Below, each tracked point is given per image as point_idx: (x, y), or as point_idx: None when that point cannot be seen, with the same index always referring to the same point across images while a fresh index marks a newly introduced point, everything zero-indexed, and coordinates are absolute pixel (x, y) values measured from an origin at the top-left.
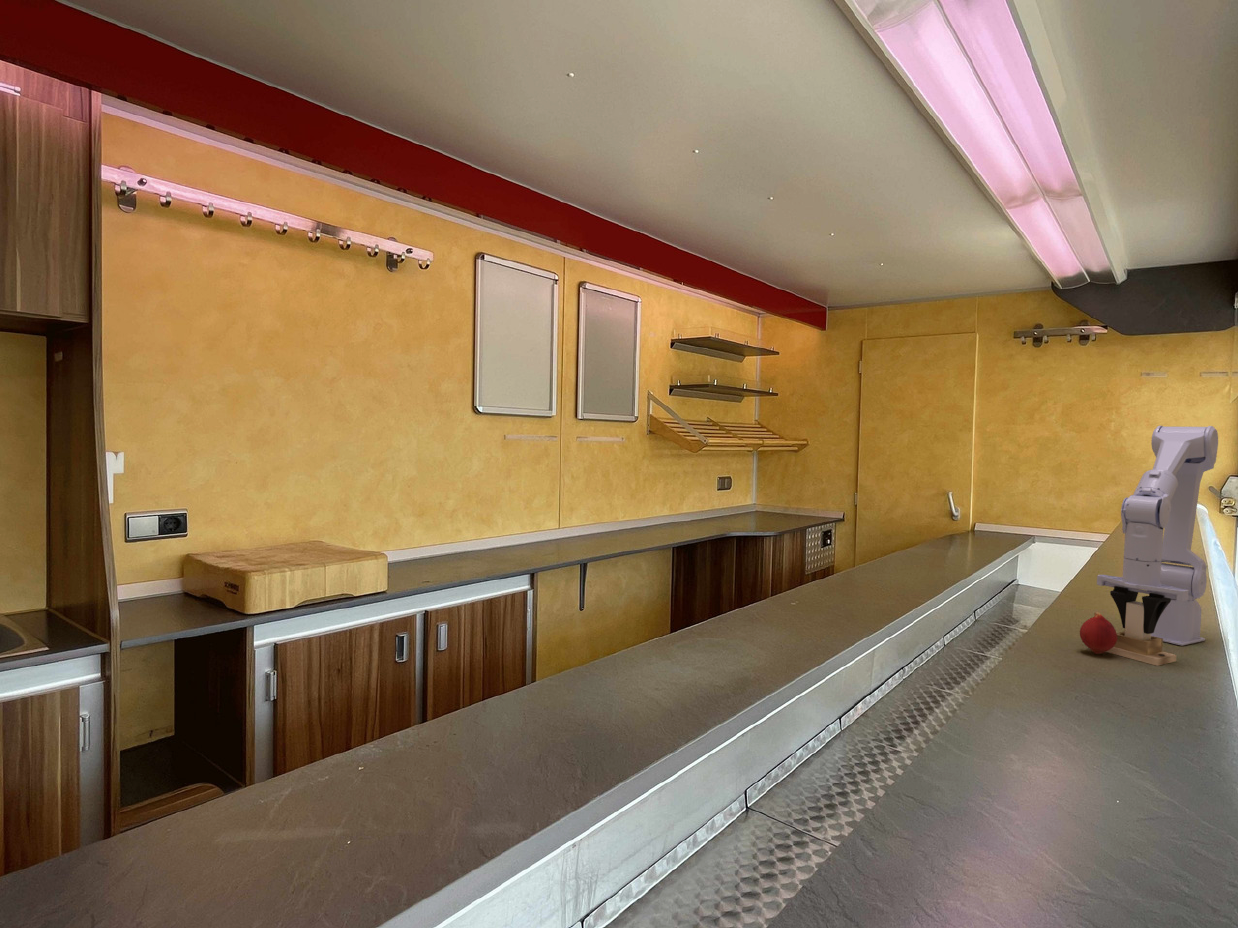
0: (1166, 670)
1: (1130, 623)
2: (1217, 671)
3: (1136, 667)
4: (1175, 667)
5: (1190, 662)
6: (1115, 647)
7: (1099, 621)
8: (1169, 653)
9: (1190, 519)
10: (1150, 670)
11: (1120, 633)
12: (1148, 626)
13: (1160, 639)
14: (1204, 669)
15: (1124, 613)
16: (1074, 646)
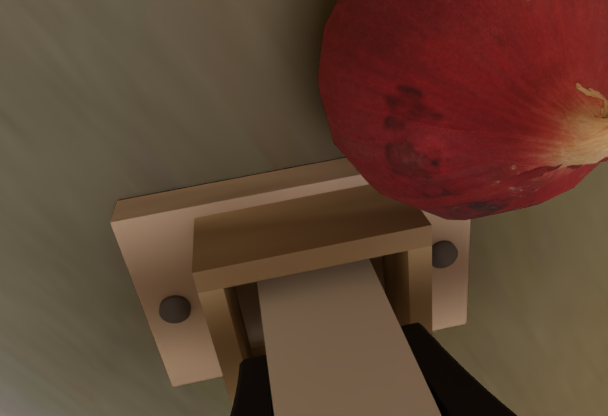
0: (25, 172)
1: (370, 361)
2: (4, 408)
3: (101, 23)
4: (80, 274)
5: (150, 404)
6: None
7: (502, 50)
8: (201, 374)
9: None
10: (28, 61)
11: (412, 283)
12: (233, 406)
13: None
14: (38, 379)
15: (452, 413)
16: None
